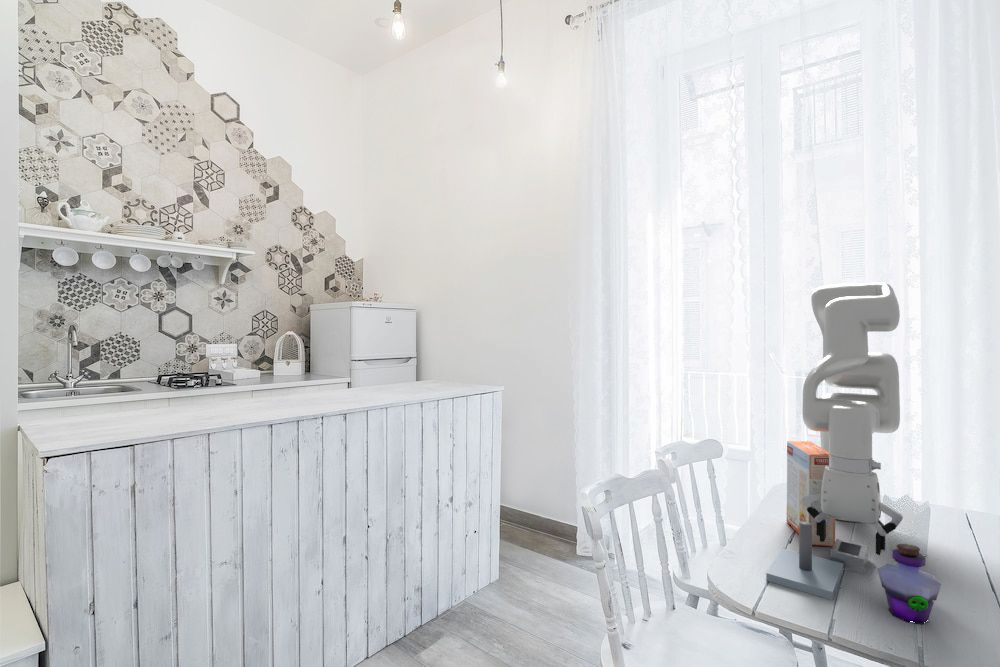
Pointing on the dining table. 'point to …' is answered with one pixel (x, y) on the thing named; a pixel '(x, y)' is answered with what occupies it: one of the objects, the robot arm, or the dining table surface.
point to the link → (850, 555)
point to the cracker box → (806, 486)
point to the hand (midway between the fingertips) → (849, 546)
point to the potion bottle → (909, 585)
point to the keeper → (806, 568)
